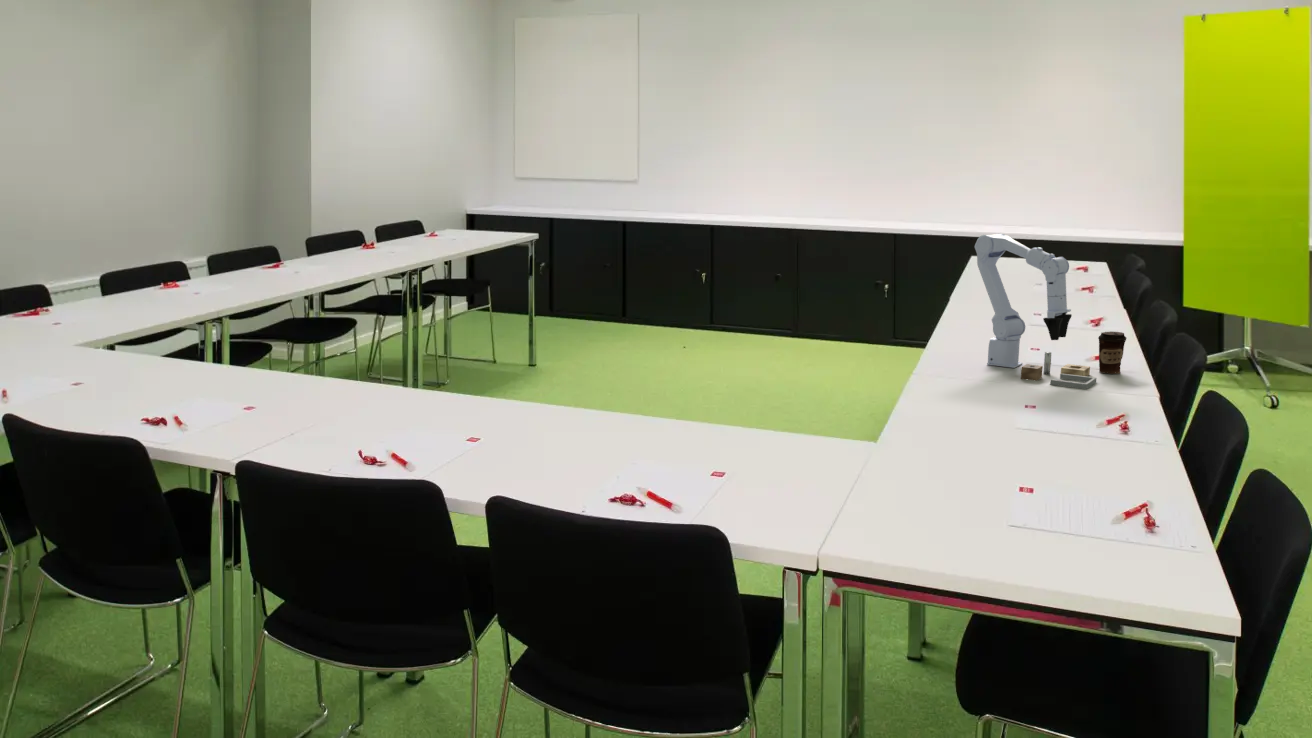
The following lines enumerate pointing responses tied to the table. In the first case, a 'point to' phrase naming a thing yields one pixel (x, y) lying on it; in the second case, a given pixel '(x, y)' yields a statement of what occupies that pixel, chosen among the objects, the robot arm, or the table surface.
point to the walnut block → (1031, 372)
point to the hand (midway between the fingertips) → (1058, 338)
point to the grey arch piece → (1088, 380)
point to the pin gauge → (1047, 363)
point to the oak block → (1075, 370)
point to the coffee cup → (1111, 351)
